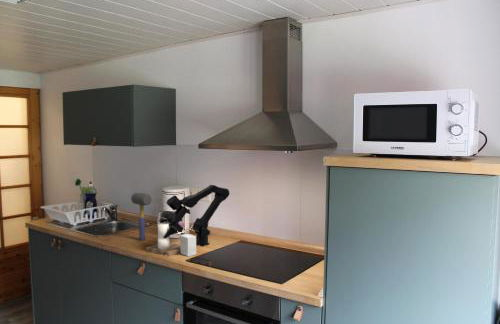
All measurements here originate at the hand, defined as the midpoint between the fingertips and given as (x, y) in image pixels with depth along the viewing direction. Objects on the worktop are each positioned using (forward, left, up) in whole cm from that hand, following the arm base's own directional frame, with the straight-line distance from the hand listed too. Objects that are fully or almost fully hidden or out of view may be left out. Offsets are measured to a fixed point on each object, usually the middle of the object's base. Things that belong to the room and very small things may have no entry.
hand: (161, 237), depth 228 cm
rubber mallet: (+31, -12, -9) cm, 34 cm away
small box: (-14, -6, -9) cm, 18 cm away
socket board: (+1, -5, -9) cm, 10 cm away
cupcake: (+23, -38, -9) cm, 45 cm away
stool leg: (0, -2, -9) cm, 9 cm away
